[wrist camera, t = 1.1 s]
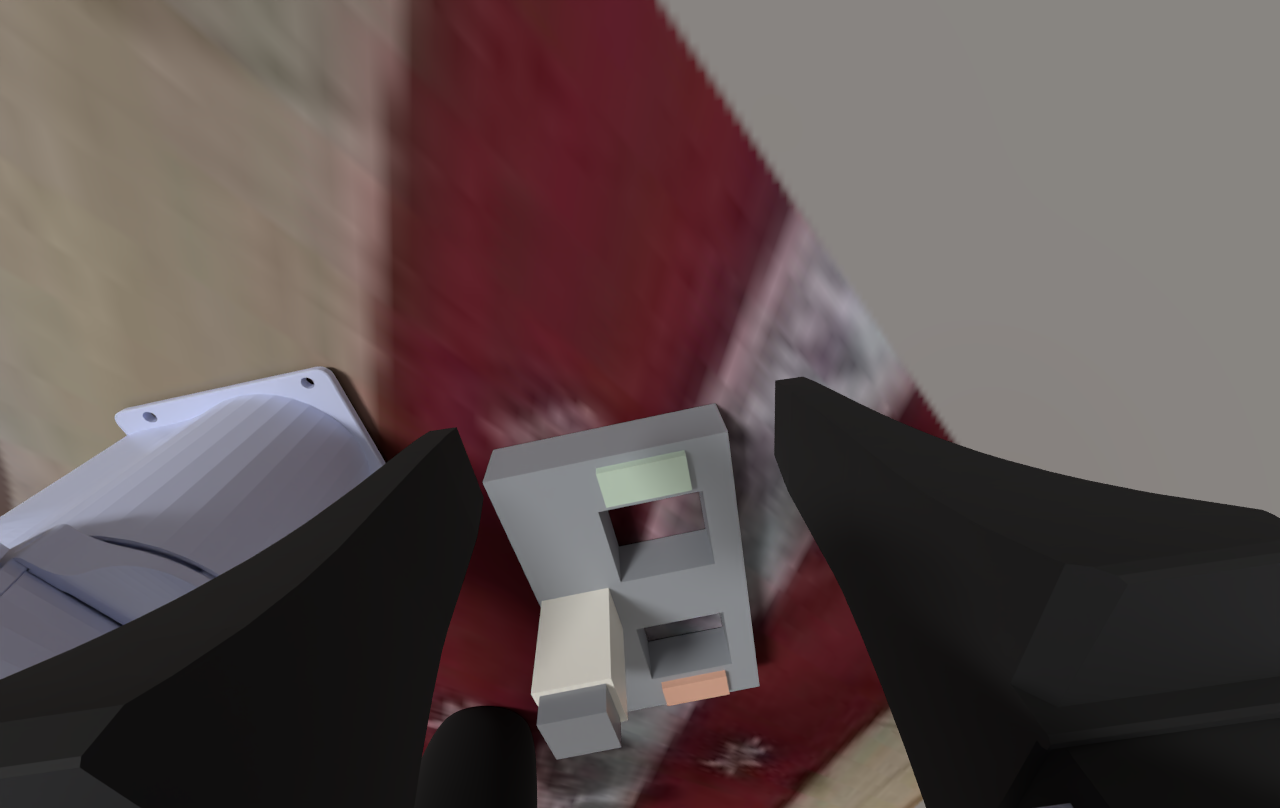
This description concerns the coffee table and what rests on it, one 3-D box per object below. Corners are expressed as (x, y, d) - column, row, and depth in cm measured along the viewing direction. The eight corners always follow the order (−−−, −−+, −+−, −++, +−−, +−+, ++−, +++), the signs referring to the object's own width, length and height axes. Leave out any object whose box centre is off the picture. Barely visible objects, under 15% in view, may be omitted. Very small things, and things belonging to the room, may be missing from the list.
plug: (560, 642, 27) (552, 764, 22) (541, 601, 25) (527, 723, 20) (623, 629, 27) (629, 749, 22) (608, 587, 25) (611, 706, 20)
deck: (592, 680, 33) (592, 724, 31) (493, 450, 23) (480, 488, 21) (748, 649, 33) (761, 692, 30) (715, 403, 23) (730, 436, 20)
